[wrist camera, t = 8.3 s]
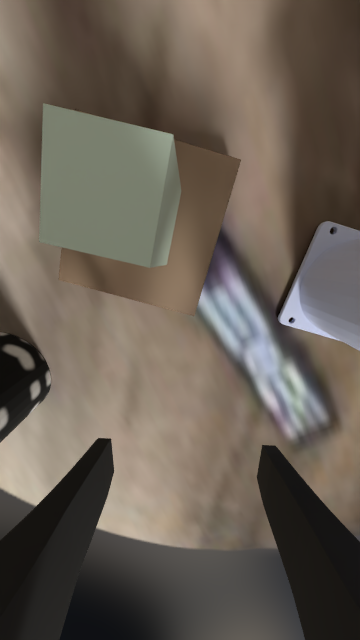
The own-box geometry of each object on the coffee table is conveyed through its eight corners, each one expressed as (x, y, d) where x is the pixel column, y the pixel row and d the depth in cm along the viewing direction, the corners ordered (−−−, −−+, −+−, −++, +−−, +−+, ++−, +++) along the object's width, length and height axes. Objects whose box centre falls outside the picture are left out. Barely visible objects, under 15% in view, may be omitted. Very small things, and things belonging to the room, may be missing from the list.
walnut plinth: (230, 178, 15) (241, 159, 12) (193, 306, 18) (194, 316, 15) (96, 137, 15) (74, 108, 12) (79, 276, 18) (58, 279, 15)
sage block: (181, 191, 13) (173, 134, 7) (166, 264, 14) (149, 267, 8) (110, 174, 13) (42, 102, 7) (101, 249, 14) (39, 242, 8)
